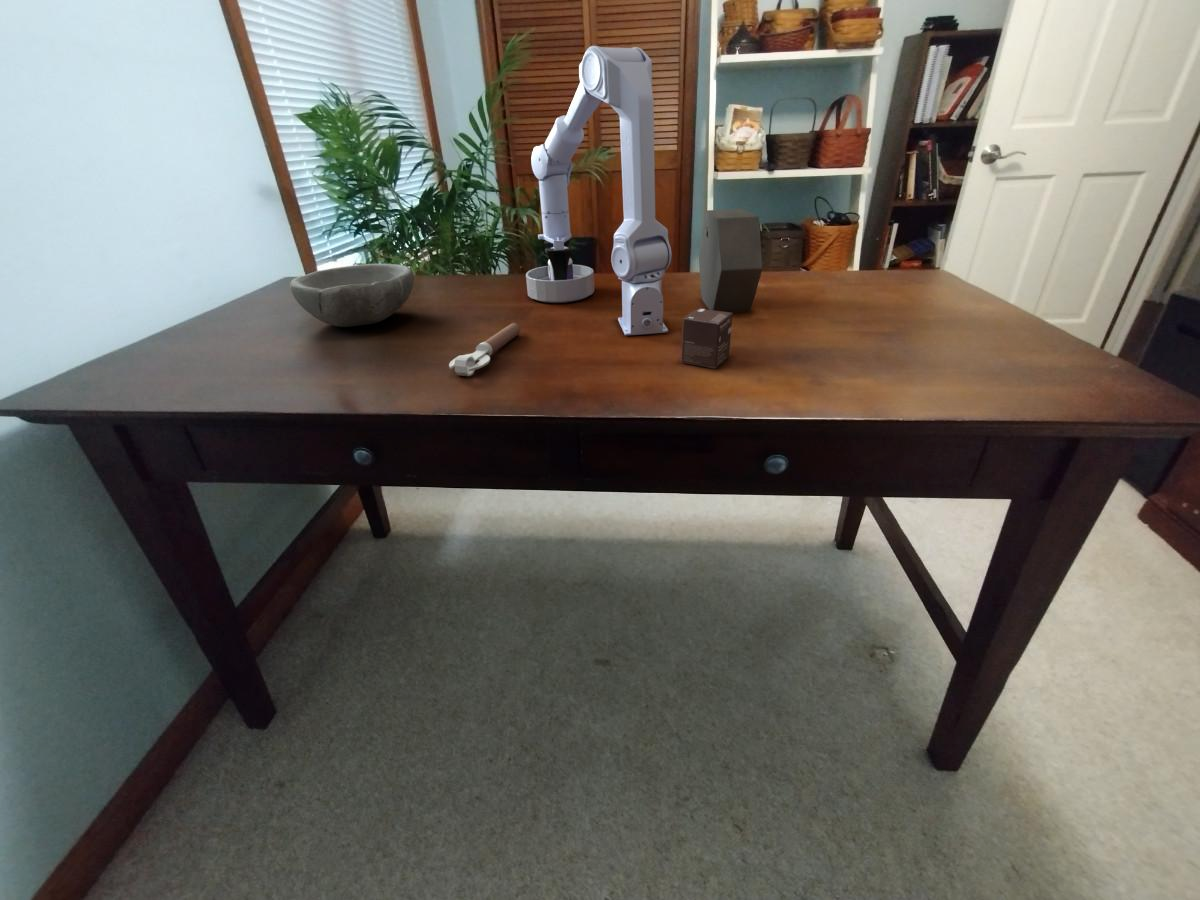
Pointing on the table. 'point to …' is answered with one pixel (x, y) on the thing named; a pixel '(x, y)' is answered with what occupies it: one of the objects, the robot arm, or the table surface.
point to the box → (706, 338)
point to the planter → (730, 260)
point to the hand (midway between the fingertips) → (560, 278)
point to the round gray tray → (560, 285)
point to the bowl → (354, 293)
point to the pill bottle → (569, 271)
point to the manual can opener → (483, 351)
